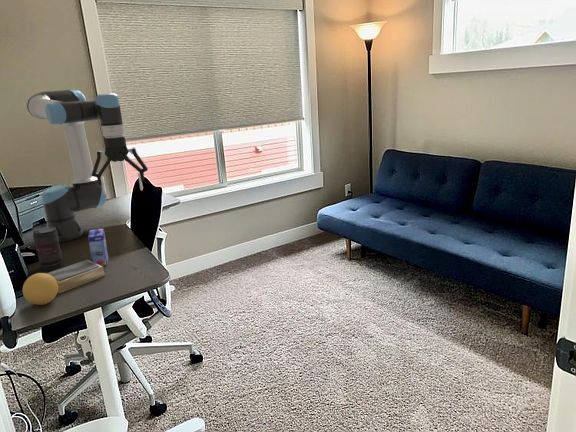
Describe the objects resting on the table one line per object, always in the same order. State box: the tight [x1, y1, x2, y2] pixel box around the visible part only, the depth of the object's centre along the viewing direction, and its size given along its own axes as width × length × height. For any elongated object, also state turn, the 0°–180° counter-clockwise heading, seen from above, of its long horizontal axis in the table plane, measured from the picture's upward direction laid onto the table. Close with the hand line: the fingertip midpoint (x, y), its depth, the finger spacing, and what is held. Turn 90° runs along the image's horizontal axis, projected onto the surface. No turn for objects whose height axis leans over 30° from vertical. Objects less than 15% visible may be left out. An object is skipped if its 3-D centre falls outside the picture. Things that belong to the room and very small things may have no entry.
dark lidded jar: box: [32, 226, 63, 270], centre depth 168 cm, size 8×8×15 cm
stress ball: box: [22, 272, 59, 306], centre depth 139 cm, size 10×10×10 cm
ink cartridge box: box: [87, 225, 109, 267], centre depth 169 cm, size 10×6×14 cm, turn 20°
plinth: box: [47, 259, 106, 294], centre depth 155 cm, size 12×16×4 cm
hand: (123, 191), depth 171 cm, fingers open, 13 cm apart
